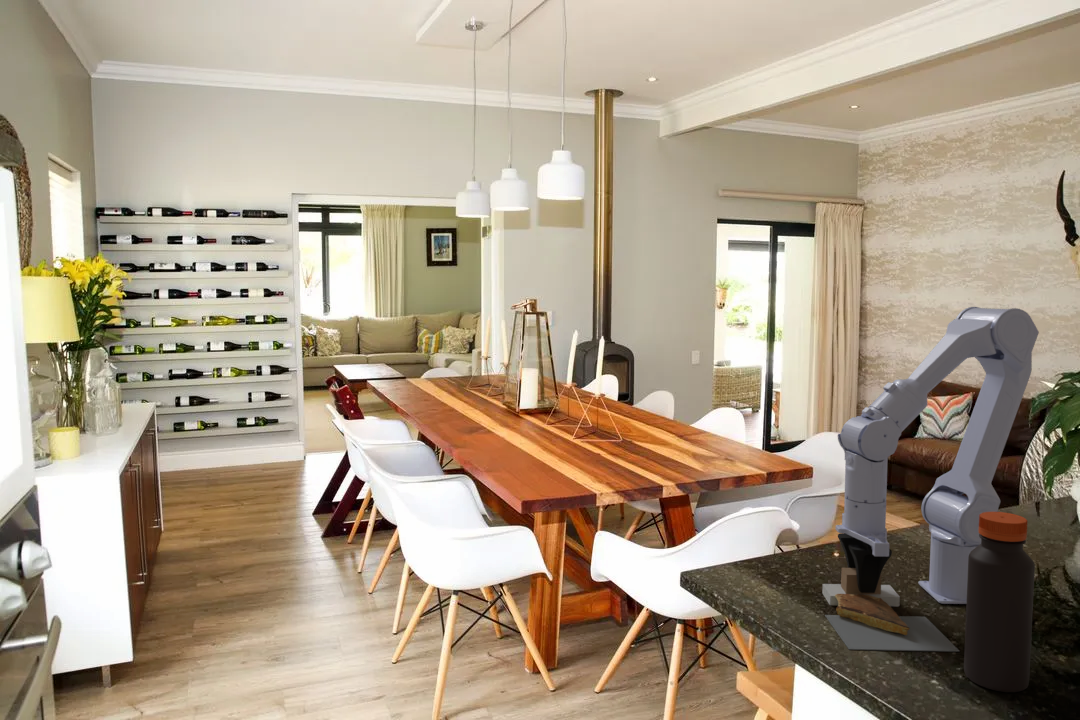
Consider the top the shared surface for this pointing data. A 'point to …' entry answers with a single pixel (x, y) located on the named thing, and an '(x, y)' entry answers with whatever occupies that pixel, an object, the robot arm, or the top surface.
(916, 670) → the top surface
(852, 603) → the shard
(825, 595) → the grout float
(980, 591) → the bottle
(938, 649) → the felt mat
